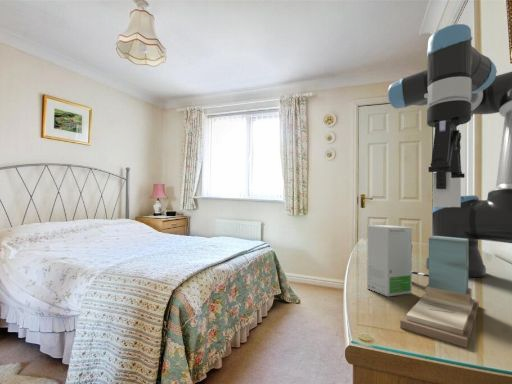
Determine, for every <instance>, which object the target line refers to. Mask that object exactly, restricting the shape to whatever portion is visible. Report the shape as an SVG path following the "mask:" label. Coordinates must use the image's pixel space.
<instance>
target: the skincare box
mask: <svg viewBox="0 0 512 384" xmlns="http://www.w3.org/2000/svg"><path fill="white" fill-rule="evenodd" d="M412 228H413V227H412V226H400V225H391V224H390V225H385V224H383V225H380V224H368V225H367V256H366V257H367V263H366V264H367V269H366V270H367V271H366V272H367V274H366V276H367V277H366V289H367V290H369V289H370V291H371V290H372V292H374V291H375V292H374V293H376V292H377V294H379V293H380V295H382V296H384V297H385V296H386V297H394V296H401V295H408V294H412V293H413V292H412V290H413V288H412V287H413V285H412V283H413V282H412V280H413V279H412V278H413V277H412V275H413V273H412V271H413V268H412V267H413V266H412V264H413V262H412V261H413V260H412V253H413V243H412V241H413V240H412V239H413V238H412V236H413V235H412V234H413V233H412V232H413V231H412Z"/></svg>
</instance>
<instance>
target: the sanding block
mask: <svg viewBox="0 0 512 384" xmlns="http://www.w3.org/2000/svg"><path fill="white" fill-rule="evenodd" d="M428 257H429V269H428V274H429V277H428V284H427V285H426V286H425V293H426V296H427V297H431V298H436V299H440V300H445V301H449V302H454V303H459V304H463V305H468V306H469V304H470V301H471V299H472V297H473V296H472V295H473V293H472V292H473V291H472V290H473V289H472V288H471V287H469V277H468V239H465V238H454V237H443V236H433V235H431V236H430V237H428Z"/></svg>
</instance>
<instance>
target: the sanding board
mask: <svg viewBox="0 0 512 384" xmlns="http://www.w3.org/2000/svg"><path fill="white" fill-rule="evenodd" d="M479 307H480V302H479V300H477V299H475V297H473V296H472V299H471V301H470V304H469V306H468V305H463V304H459V303H454V302H449V301H445V300H440V299H436V298H431V297H427V296H426V292H425V293H424V294H423V295H422V296H421V297H420V299H418V301H417V302H416V303H415V304H414V305H413V306H412V307H411V308H410V309H409V311H408V312H406V314H405V315H404V316H403V317H402V318H401V319H400V321H399V322H400V323H399V324H400V326H399V327H400V329H404V330H406V331H409V332H410V331H411V332H413V333H416V334H420V335H422V336H423V335H424V336H427V337H430V338H434V339H435V340H440V341H443V342H447V343H450V344H453V345H457V346H459V347H462V348H466V349H467V348H468V344H469V341H470V337H471V334H472V331H473V328H474V324H475V321H476V317H477V314H478V310H479Z"/></svg>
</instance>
